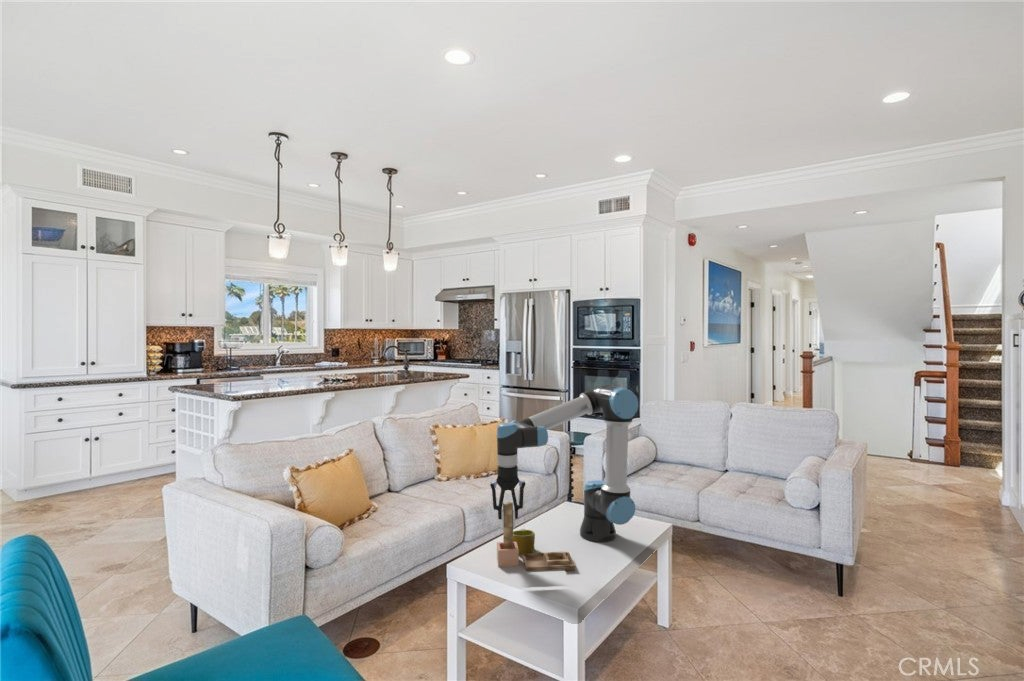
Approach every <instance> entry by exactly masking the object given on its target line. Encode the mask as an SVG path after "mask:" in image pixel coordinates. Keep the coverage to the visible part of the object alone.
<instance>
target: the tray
mask: <svg viewBox="0 0 1024 681" xmlns="http://www.w3.org/2000/svg"><path fill="white" fill-rule="evenodd" d="M521 556H522V557H521V558H522V562H523V565H524V568H525V571H526V572H533V571H534V572H535V571H552V570H557V571H558V570H564V572H565V573H567V572H570V573H571V572H576V563H575V562H574V560H573V558H572V556H571V554H570V552H569V551H544V552H534V553H527V554H522V555H521Z"/></svg>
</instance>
